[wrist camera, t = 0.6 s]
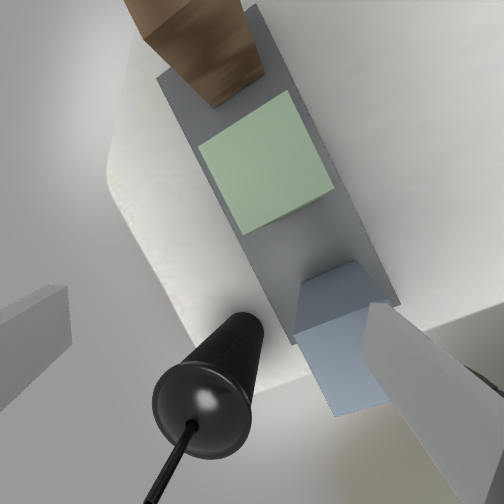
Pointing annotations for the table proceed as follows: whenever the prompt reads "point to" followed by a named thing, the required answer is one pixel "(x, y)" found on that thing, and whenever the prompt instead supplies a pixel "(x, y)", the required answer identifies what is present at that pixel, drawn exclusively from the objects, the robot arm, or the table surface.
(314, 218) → the grey flat board
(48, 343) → the robot arm
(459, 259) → the table surface
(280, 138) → the pale green block
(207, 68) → the brown wooden block
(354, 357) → the blue-grey tall block
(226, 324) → the drinking cup
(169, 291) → the table surface
